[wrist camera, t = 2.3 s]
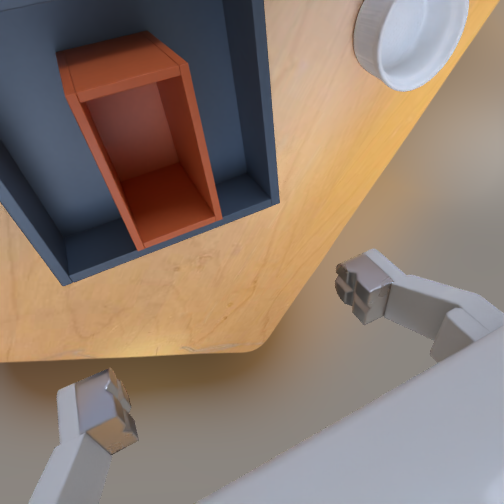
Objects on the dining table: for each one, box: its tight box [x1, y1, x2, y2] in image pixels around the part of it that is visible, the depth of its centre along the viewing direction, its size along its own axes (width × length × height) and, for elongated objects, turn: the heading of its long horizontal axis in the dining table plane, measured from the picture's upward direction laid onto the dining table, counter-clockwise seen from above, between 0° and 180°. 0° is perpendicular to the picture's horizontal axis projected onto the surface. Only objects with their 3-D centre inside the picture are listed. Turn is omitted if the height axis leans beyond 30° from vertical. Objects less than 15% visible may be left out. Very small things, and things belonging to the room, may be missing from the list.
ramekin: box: [354, 0, 469, 92], centre depth 31 cm, size 9×9×4 cm
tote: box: [55, 31, 223, 251], centre depth 24 cm, size 6×10×9 cm, turn 9°
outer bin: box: [0, 0, 280, 286], centre depth 25 cm, size 19×18×6 cm
